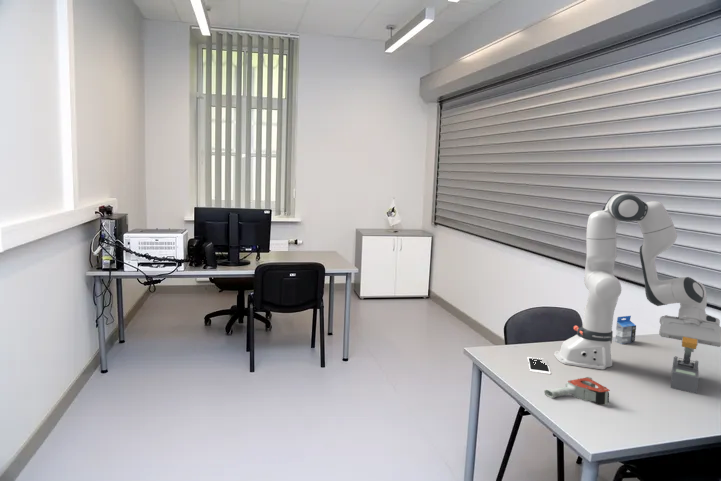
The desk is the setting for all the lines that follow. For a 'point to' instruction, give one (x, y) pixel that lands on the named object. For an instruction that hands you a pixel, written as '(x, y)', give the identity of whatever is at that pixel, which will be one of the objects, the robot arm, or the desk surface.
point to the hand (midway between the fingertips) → (688, 350)
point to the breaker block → (684, 376)
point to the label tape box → (625, 330)
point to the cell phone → (538, 366)
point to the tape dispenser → (582, 391)
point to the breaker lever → (688, 351)
